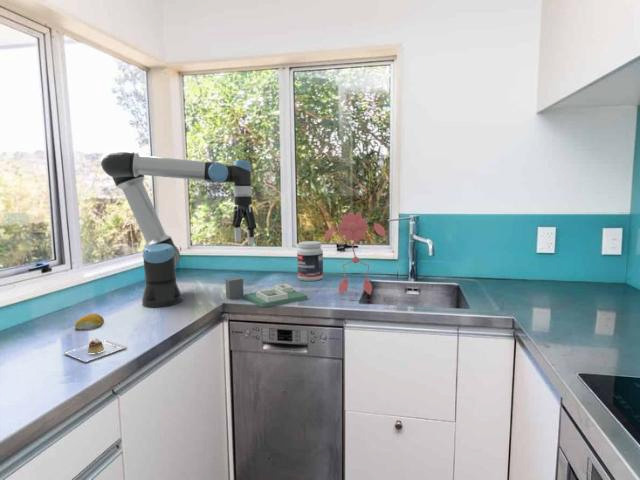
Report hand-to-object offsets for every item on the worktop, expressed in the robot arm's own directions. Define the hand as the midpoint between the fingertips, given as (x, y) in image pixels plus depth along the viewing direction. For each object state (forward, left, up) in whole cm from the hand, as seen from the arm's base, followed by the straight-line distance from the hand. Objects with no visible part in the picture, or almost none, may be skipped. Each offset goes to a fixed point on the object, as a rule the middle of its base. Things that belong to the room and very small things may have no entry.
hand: (244, 243), depth 186 cm
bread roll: (-64, -17, -22) cm, 70 cm away
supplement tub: (+34, -1, -21) cm, 40 cm away
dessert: (-64, -45, -22) cm, 81 cm away
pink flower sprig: (+31, -41, -21) cm, 55 cm away
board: (+3, -24, -21) cm, 32 cm away
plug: (-10, -12, -21) cm, 26 cm away
